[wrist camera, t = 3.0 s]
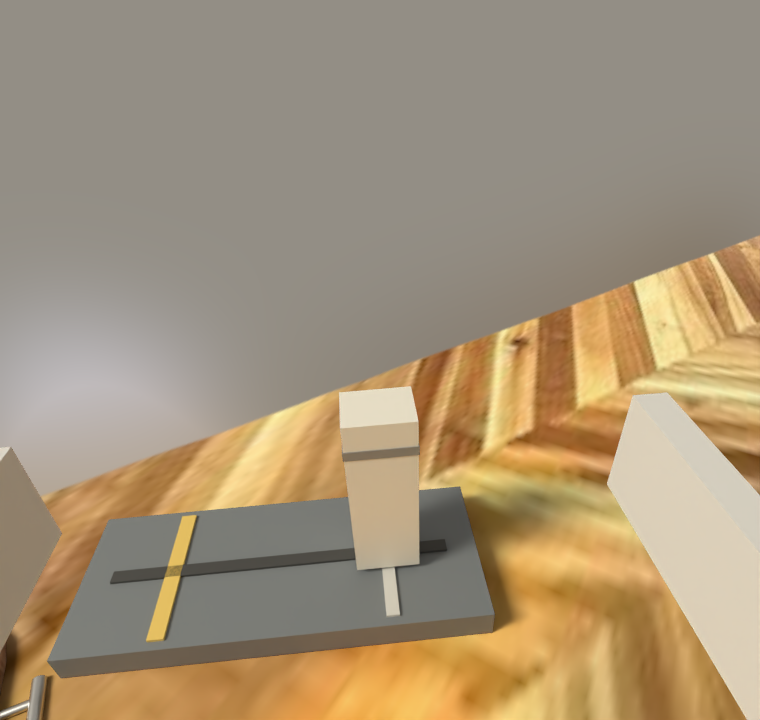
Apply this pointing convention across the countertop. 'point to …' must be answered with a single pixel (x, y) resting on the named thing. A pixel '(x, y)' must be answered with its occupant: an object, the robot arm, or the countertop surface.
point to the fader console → (266, 587)
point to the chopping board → (35, 700)
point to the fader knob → (382, 475)
